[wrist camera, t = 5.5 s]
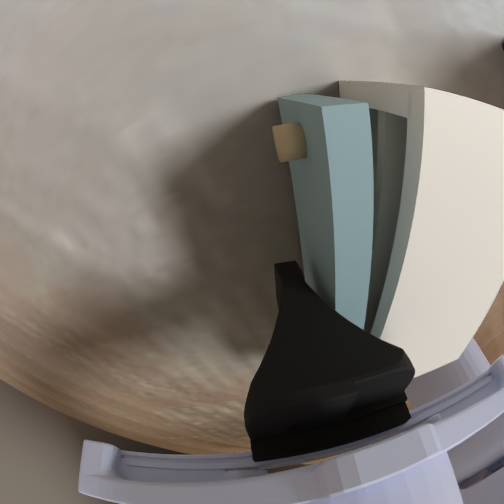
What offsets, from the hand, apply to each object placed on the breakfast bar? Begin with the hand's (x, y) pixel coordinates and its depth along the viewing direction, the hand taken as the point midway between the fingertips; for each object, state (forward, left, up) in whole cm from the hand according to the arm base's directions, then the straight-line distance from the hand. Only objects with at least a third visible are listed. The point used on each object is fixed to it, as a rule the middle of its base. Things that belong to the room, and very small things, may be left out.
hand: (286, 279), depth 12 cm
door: (0, -1, -2) cm, 3 cm away
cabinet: (+1, -7, -3) cm, 8 cm away
